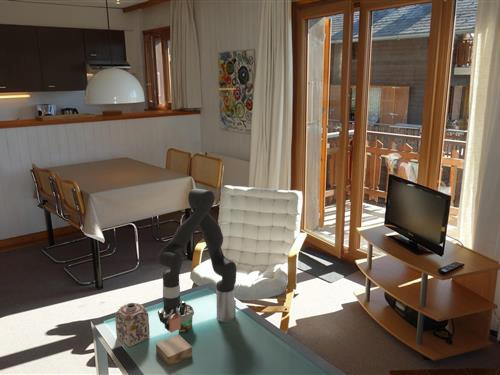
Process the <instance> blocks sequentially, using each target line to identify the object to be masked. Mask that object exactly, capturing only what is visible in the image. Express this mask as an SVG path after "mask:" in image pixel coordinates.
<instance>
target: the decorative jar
mask: <svg viewBox="0 0 500 375" xmlns="http://www.w3.org/2000/svg"><path fill="white" fill-rule="evenodd" d="M114 318H115V331H116V332H115V333H116V338H117V339H118V340H119V341H120V342H122V343H123V344H124V345H126V346H127V347H128V348H131V347H133V346H136V345H138V344H139V343H141V342H143V341H145V340H147V339H149V338H150V337H151V336H150V334H151V333H150V322H149V320H150V319H149V312H148V311H147V309H146V308H145V307H144V306H143V305H142V304H140V303H135V302H129V303H126V304H123V305H122V306H120V308H119V309H118V310H117V311H116V312H115V313H114Z"/></svg>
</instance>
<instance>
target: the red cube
mask: <svg viewBox="0 0 500 375" xmlns="http://www.w3.org/2000/svg"><path fill="white" fill-rule="evenodd" d="M179 329H181V324H180V316H178V315H177V314H173V315H172V316H171V318H170V320H169V330H167V331H168V332H169V333H174V332H176V331H179Z"/></svg>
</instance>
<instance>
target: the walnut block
mask: <svg viewBox="0 0 500 375" xmlns="http://www.w3.org/2000/svg"><path fill="white" fill-rule="evenodd" d="M155 351H156V352H155V353H156V354H157V355H158V356H159V357H160V358H161V359H162V360H163V362H165V364H166V365H167V367H170V366H172V365H175V364H177V363H179V362H181V361H183V360H186V359H188V358H190V357H192V356H193V346H191V344H189V343H188V342H187V341H186V340H185V339H184V338H183V337H182V336H181V335H180V334H177V335H174V336H172V337H169V338H167V339H164V340H161V341H159V342H156V343H155Z"/></svg>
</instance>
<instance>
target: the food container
mask: <svg viewBox="0 0 500 375" xmlns="http://www.w3.org/2000/svg"><path fill="white" fill-rule="evenodd" d="M194 311H195V310H194V308H193V307H192V306H191V305H190V304H187V303H186V306H185V312H184V315H182V316H181V317H180V324H181V329H179V330H178V333H179V334H185V333H188V332H189V331H191V330H192V328H193V317H194V315H195V312H194Z"/></svg>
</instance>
